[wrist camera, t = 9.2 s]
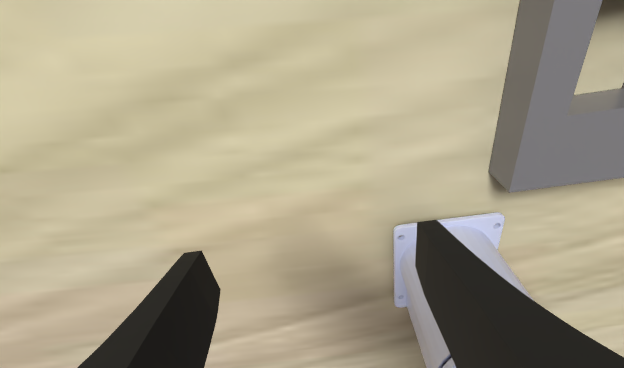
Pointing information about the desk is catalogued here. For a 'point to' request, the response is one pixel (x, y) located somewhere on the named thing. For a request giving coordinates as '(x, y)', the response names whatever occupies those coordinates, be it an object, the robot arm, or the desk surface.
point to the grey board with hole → (555, 104)
